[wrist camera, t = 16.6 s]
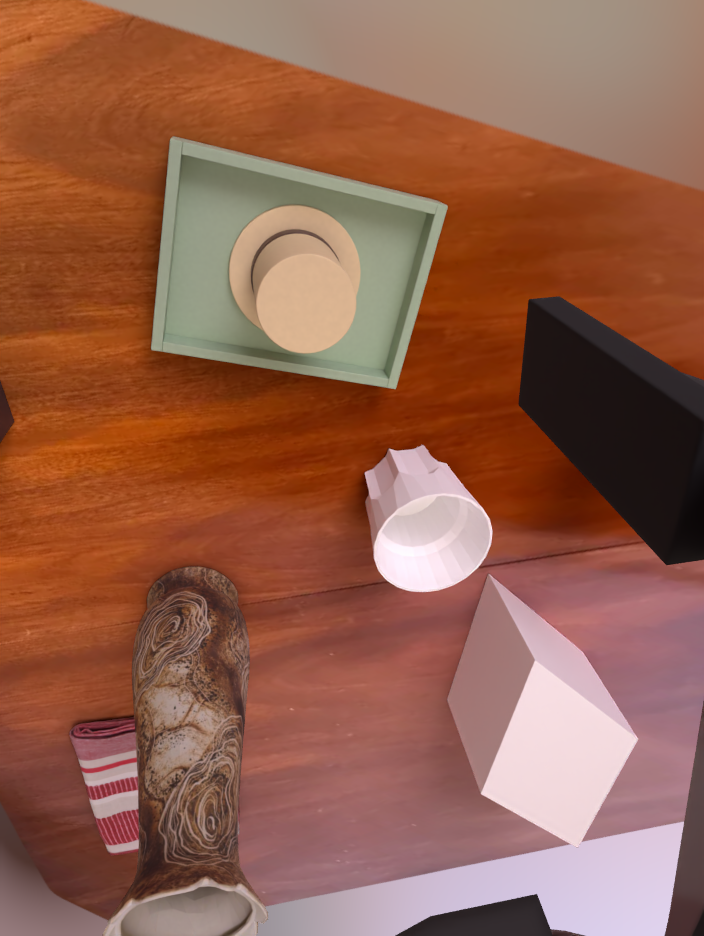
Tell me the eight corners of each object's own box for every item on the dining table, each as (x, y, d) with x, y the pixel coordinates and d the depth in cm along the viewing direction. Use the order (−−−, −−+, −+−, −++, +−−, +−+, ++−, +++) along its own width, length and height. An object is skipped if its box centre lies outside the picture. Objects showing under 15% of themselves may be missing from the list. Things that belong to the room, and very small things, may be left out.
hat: (201, 280, 49) (196, 314, 41) (288, 173, 46) (299, 189, 39) (301, 360, 53) (313, 404, 46) (385, 267, 50) (412, 298, 43)
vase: (161, 547, 61) (114, 879, 35) (266, 576, 64) (293, 894, 39) (128, 626, 65) (63, 974, 39) (228, 648, 69) (229, 980, 43)
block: (565, 546, 69) (626, 627, 59) (596, 735, 87) (647, 823, 77) (411, 600, 69) (444, 691, 59) (474, 778, 88) (508, 871, 77)
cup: (355, 531, 63) (374, 598, 55) (352, 441, 58) (373, 501, 50) (453, 519, 65) (487, 583, 56) (459, 430, 60) (496, 487, 51)
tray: (154, 338, 51) (150, 350, 49) (172, 135, 44) (169, 138, 42) (389, 377, 56) (395, 389, 54) (438, 200, 49) (448, 205, 47)
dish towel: (228, 702, 73) (228, 722, 70) (241, 824, 84) (241, 844, 82) (70, 720, 70) (65, 742, 68) (106, 843, 82) (103, 865, 80)
